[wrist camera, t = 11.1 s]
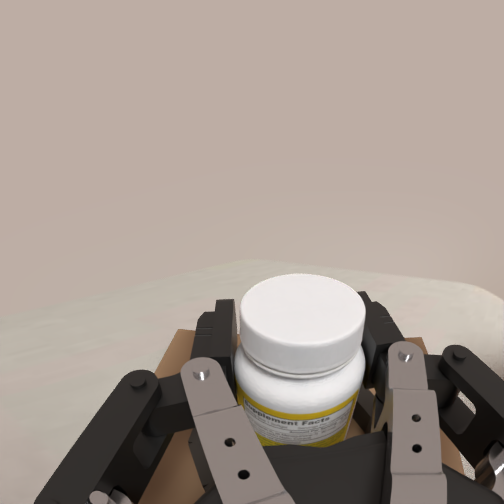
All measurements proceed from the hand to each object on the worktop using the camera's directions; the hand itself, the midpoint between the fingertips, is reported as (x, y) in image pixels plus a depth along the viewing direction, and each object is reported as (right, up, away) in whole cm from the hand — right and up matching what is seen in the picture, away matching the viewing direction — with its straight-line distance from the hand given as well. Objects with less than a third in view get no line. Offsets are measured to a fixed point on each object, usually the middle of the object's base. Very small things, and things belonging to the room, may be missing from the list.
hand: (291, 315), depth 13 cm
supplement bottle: (0, -7, 0) cm, 7 cm away
